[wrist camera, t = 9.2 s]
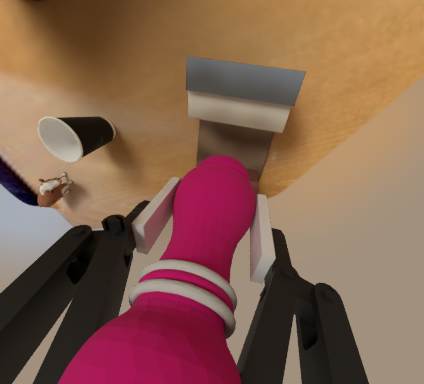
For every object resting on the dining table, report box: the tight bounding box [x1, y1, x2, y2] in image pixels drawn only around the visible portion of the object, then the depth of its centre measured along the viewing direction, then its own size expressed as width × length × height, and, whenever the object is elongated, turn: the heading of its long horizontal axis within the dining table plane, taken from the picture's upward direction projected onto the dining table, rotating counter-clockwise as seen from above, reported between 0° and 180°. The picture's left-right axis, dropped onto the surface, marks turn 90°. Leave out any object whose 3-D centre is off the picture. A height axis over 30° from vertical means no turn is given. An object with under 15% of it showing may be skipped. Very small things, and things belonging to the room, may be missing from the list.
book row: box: [186, 56, 306, 199], centre depth 27 cm, size 19×14×14 cm
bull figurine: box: [38, 172, 73, 207], centre depth 46 cm, size 4×13×8 cm, turn 133°
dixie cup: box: [38, 116, 116, 163], centre depth 33 cm, size 8×8×11 cm
